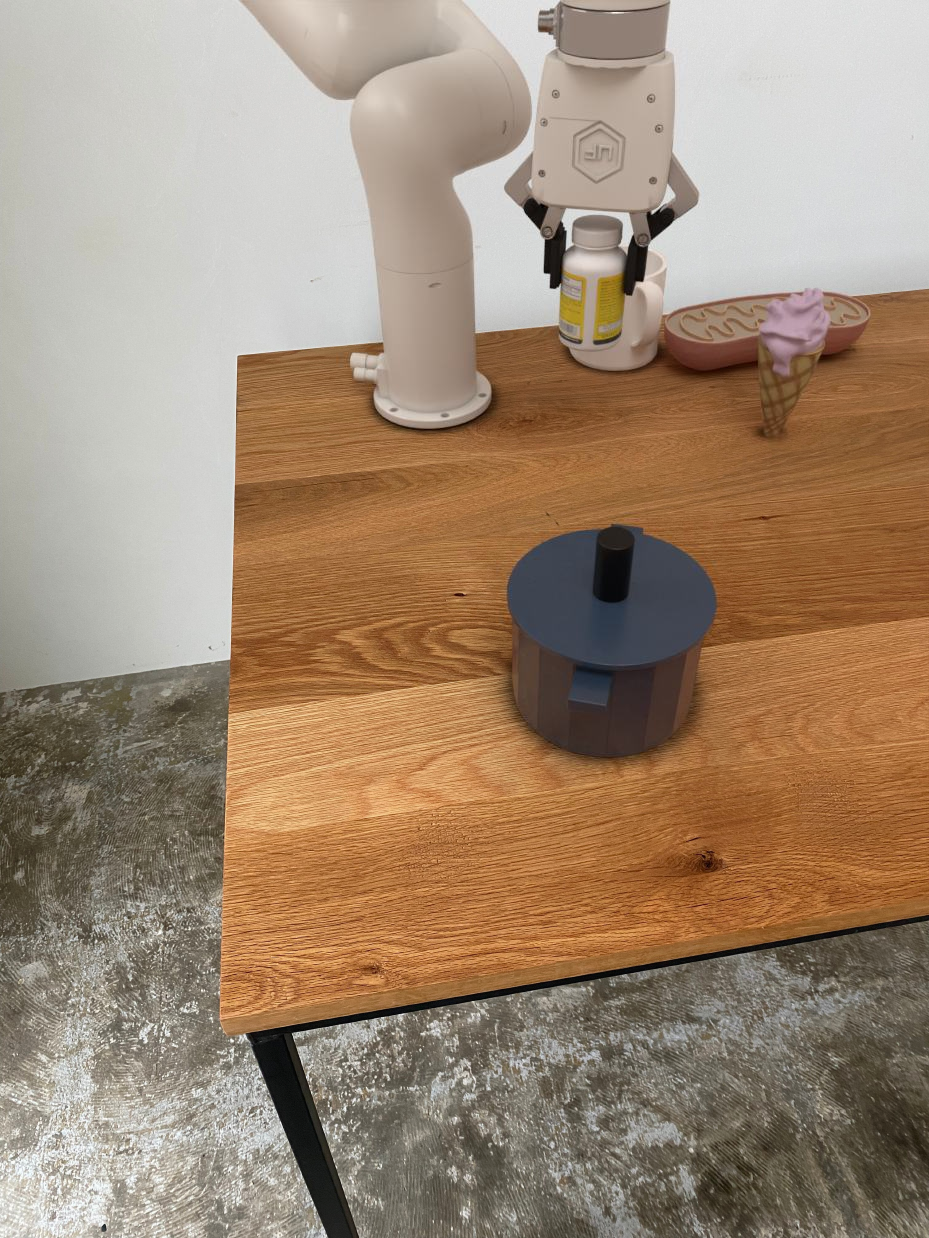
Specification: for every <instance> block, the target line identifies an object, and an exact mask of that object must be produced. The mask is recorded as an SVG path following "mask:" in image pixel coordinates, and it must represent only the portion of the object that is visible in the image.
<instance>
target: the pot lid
mask: <svg viewBox="0 0 929 1238" xmlns="http://www.w3.org/2000/svg"><path fill="white" fill-rule="evenodd" d="M717 600H718V599H717V594H716V589H715V587H714V584H713V582H712V579H711V578H710V576H709V575H708V573H707V572H706V570H705V569H704V567H702V565H701V564H700V563H698V561H696V559H694V558H693V557H692V556H691V555H689V554H688V553H687V552H685V551H684V550H682V549H680V548H679V547H677V546H675V545H674V544H672V543H669V542H667V541H665V540H663V539H661V538H657V537H655V536H652V535H649V534H645V533H643V534H641V533H638V532H632V531H629V530H627V529H625V528H622V527H611V526H608V527H604V528H591V529H582V530H576V531H571V532H567V533H564V534H560V535H557V536H555V537H552V538H549V539H547V540H544V541H543V542H541V543H539V544H537V545H536V546H534V547H532V548H531V549H530V550H529V551H527V552H526V553H525V554H524V555H523V556H522V557H521V558H519V560H518V561H517V563H516V564H515V566H514V567H513V568H512V571H511V573H510V575H509V577H508V581H507V584H506V603H507V610H508V612H509V614H510V617H511V620H512V619H513V621H514V622H515V624H516V626H517V627H518V628H519V630H520V631H521V632H522V633H523V635H524V636H526V637H527V638H528V639H529V640H530V641H531V642H532V643H533V644H535V645H536V646H538V647H539V648H540V649H542V650H543V651H545V652H547V653H549V654H551V655H552V656H555V657H557V658H559V659H562V660H564V661H567V662H570V663H573V664H576V665H579V666H584V667H589V668H593V669H602V670H619V671H624V670H638V669H644V668H650V667H654V666H658V665H661V664H665V663H667V662H670V661H672V660H675V659H677V658H679V657H681V656H682V655H684V654H686V653H688V652H689V651H690V650H692V649H693V648H694V647H696V646H697V645H698V644H699V643H700V642H701V641H702V640H703V641H704V640H705V638H706V636H707V635H708V634H709V632H710V631H711V628H712V627H713V623H714V621H715V617H716V612H717V607H718V605H717Z"/></svg>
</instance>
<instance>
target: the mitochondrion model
mask: <svg viewBox="0 0 929 1238" xmlns="http://www.w3.org/2000/svg"><path fill="white" fill-rule="evenodd" d="M821 291H822V293H823V295H824V297H823V300H822V301H823V305H824V310H825V311H826V312H827V313H828V314H829V315H830V319H831V322H830V325H829V327H828V330H827V333H826V336H825V338H824V341H825V346H824V348H823V351H822V353H821V355H820V356H828V355H833V354H837V353H839V352H842V351H844V350H846V349H847V348H849V347H851V346H852V345H853V344H854V343H856V341H858V340H859V339H860V337H861V336H862V335H863V334H864V332H865V330H866V329H867V326H868V325H869V322H870V318H871V316H872V315H871V314H872V313H871V309H870V308H869V307H868V305H867V304H866V303H864V302H862V301H861V300H859V299H858V298H856V297H853V296H850V295H847V294H843V293H839V292H834V291H823V290H821ZM803 293H804V291H795V292H794V291H793V292H792V291H791V292H790V291H789V292H776V293H763V294H751V295H745V296H737V297H731V298H723V299H718V300H713V301H709V302H708V301H707V302H702V303H698V304H694V305H693V304H692V305H689V306H688V305H687V306H684V307H680V308H678V309H674V310H672V312H670V313H669V314H668V315H667V316H666V317H665V319H664V325H663V326H664V327H663V330H664V331H663V334H664V335H663V336H664V341H665V345H666V347H667V349H668V350H669V352H670V354H671V355H672V356H673V358H675V359H676V360H677V362H679V363H680V364H681V365H683V366H685V367H687V368H689V369H692V370H696V371H712V370H717V369H720V368H726V367H730V366H735V365H740V364H745V363H751V362H758V337H759V334H760V332H759V326H760V324H762V322H765V321H766V320H767V318H768V316H769V312H768V311H767V310H766V307H765V306H766V305H767V304H769V303H770V302H771V301H772V300H774V299H779V300H781V301H785V300H787V299H790V295H791V294H797V295H800V296H802V295H803Z"/></svg>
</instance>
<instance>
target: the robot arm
mask: <svg viewBox="0 0 929 1238" xmlns="http://www.w3.org/2000/svg"><path fill="white" fill-rule="evenodd" d="M238 1H239V2H240V3H241V4H242V5H243V6H244V7H245V8H246V9H247V10H248V12H249V13H250V14H251V15H252V16H253V18H255V19H256V21H257V22H258V23H259V25H260V26H261V27H262V29H263V30H264V31H265V32H266V33H267V34H268V35H269V36H270V37H271V38H272V39H273V41H274V42H275V43H276V45H278V46H279V48H280V49H281V50H282V51H283V52H284V53H285V55H286V56H287V57H288V58H289V59H290V61H292V63H293V65H295V66H296V67H297V68H298V70H299V71H300V72H301V73H302V74H303V75H304V77H306V79H307V80H308V81H310V83H311V84H312V85H313V86H314V87H315V88H316V89H318V91H320V92H321V93H322V94H324V95H325V96H326V97H328V98H330V99H332V100H336V101H337V100H338V101H350V100H351V101H352V100H353V103H352V106H351V110H350V116H349V131H350V132H349V133H350V138H351V144H352V148H353V152H354V155H355V159H356V163H357V165H358V169H359V173H360V176H361V180H362V184H363V187H364V192H365V198H366V203H367V208H368V213H369V219H370V229H371V236H372V245H373V256H374V261H375V262H374V263H375V273H376V284H377V294H378V304H379V314H380V325H381V326H380V327H381V334H382V345H383V346H382V347H383V352H380V353H379V354H378V355H374V354H370V353H364V352H363V353H361V352H352V353H351V355H350V358H349V366H350V370H351V371H352V372H353V373H352V374H353V380H354V381H355V382H356V381H357V382H373V383H374V385H375V387H374V390H373V403H374V407H375V410H376V411H377V412H378V413H379V415H381V416H382V417H383V418H385V419H386V420H388V421H389V422H391V423H394V424H396V425H399V426H403V427H406V428H411V429H413V428H414V429H419V430H420V429H421V430H424V429H425V430H434V429H445V428H449V427H456V426H458V425H462V424H465V423H467V422H470V421H471V420H474V419H476V418H477V417H478V416H480V415H482V414H483V413H484V412H485V411H486V410H487V409H488V408H489V406H490V404H491V401H492V396H493V395H492V385H491V383H490V381H489V380H488V379H487V377H486V376H485V375H484V374H482V373H481V372H479V371H478V370H477V339H476V335H477V333H476V300H475V299H476V298H475V295H476V294H475V260H474V259H475V258H474V236H473V228H472V222H471V219H470V217H469V214H468V212H467V210H466V208H465V206H464V205H463V203H462V201H461V199H460V198H459V196H458V193H457V192H456V190H455V187H454V179H455V177H457V176H459V175H462V174H464V173H466V172H468V171H470V170H473V169H476V168H479V167H482V166H484V165H487V164H490V163H492V162H496V161H498V160H500V159H502V158H504V157H507V155H509V154H511V153H512V152H513V151H515V150H516V149H517V148H518V147H520V145H521V144H522V143H523V142H524V140H525V139H526V137H527V135H528V132H529V130H530V126H531V123H532V117H533V104H532V103H533V101H532V96H531V92H530V87H529V85H528V81H527V80H526V76H525V75H524V73H523V71H522V69H521V67H520V66H519V64H518V63H517V61H516V60H515V58H514V56H513V55H512V54H511V53H510V52H509V50H508V49H507V48H506V47H505V46H504V45H503V44H502V42H501V41H500V40H499V39H498V38H497V37H496V36H495V35H494V33H492V31H491V30H490V29H489V28H488V27H487V26H486V24H484V22H483V21H482V20H481V19H480V18H479V17H478V16H477V15H476V14H475V13H474V11H473V10H472V9H471V8H470V7H469V6H468V5H467V4H466V3H465V2H464V0H238ZM670 9H671V0H559V2H558V3H557V5H556V6H555V7H554V8H550V9H547V10H544V9H540V10H539V11H538V17H537V31H538V33H541V34H542V33H545V34H548V36H553V40H555V48H554V49H552V50H551V51H550V52H548V53H547V54H546V55H545V59H544V63H543V68H542V73H541V78H540V84H539V91H538V98H537V106H536V116H535V124H534V135H533V148H532V149H533V150H532V151H531V152H530V154H529V155H528V156H526V158H525V159H524V160H523V161H522V163H520V165H519V166H518V167H517V168H516V169H515V170H514V172H513V173H512V174H511V175H510V177H509V178H508V179H507V180H506V182H505V184H504V186H503V187H504V188H503V190H504V192H505V193H506V195H508V196H509V198H510V199H512V200H513V202H514V203H515V204H516V205H517V206H518V207H520V208H521V209H522V210H523V212H524V214H525V215H526V216H527V218H528V219H529V220H530V221H531V222H532V223H533V224H534V226H535V227H536V228H537V229H538V231H539V234H540V236H541V238H542V239H543V240H544V242H543V243H544V245H543V246H544V248H543V250H544V251H543V274H545V275H549V289H551V290H557V289H558V288H560V287H561V267H562V258H563V255H564V253H565V251H566V250H567V238H568V236H567V235H568V234H567V233H568V231H567V229H566V226H564V222H563V221H562V220H563V218H564V215H565V212H566V210H568V209H569V210H570V209H571V210H584V211H595V212H596V211H597V212H612V213H624V214H625V213H627V214H628V215H629V219H630V223H631V229H632V233H633V234H632V235H631V238H630V241H629V244H628V245H629V246H628V252H627V262H626V272H625V282H624V294H626V296H632V295H633V291H634V288H635V285H636V282H643V281H644V277H645V271H646V262H647V254H648V248H649V245H650V244H651V242H652V241H653V240H654V239H655V238H657V237H659V235H660V234H661V233H663V232H664V231H665V230H666V229H668V228H669V227H670V226H671V225H672V224H673V223H674V222H675V221H676V220H677V219H679V218H681V217H683V216H684V215H685V214H686V213H688V212H690V211H691V210H692V209H693V208H695V207H696V206H697V205H698V204H699V201H700V191H699V189H698V188H697V186H696V185H695V183H694V182H693V181H692V179H691V177H690V176H689V174H688V173H687V172H686V170H685V169H684V167H683V166H682V164H681V163H680V161H679V160H678V158H677V157H676V156H675V154H674V152H673V148H674V147H673V146H674V134H675V116H676V71H675V58H674V53H672V52H671V51H669V50H666V46H667V36H668V28H669V19H670V11H671V10H670ZM530 181H531V182H530ZM529 182H530V183H531V187H530V184H529ZM668 186H669V188H670V189H671V190H672V192H673V193H674V195H675V196H674V197H673V198H671V199H670V201H668V202H667V203H664V204H663V205H661V204H662V203H663V201H664V198H665V197H666V193H667V188H668ZM654 210H656V211H655V212H654V213H653V211H654Z"/></svg>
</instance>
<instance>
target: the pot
mask: <svg viewBox="0 0 929 1238" xmlns="http://www.w3.org/2000/svg"><path fill="white" fill-rule="evenodd" d="M610 527H622V528H625V529H627V530H629V531H632V532H638V533H641V534H644V527H641V526H634V525H627V524H626V525H625V524H619V523H610ZM511 620H512V624H511V625H512V627H511V629H512V630H511V635H512V636H511V638H512V639H511V640H512V641H511V646H512V647H511V658H512V659H511V683H512V688H513V696H514V701H515V705H516V706H517V709H518V711H519V712H520V715H521V717H522V719H524V721H525V722H526V724H527V726H529V727H530V728H531V729H532V730H533V731H534V732H535V733H536V734H538V735H539V736H540V737H542V738H543V739H544V740H546V741H547V742H549V743H551V744H553V745H555V746H556V747H558V748H560V749H562V750H565V751H568V752H571V753H574V754H578V755H583V756H587V757H595V758H622V757H628V756H635V755H638V754H642V753H644V752H645V753H646V752H647V751H650V750H652V749H655V748H656V747H658V746H660V745H662V744H663V743H665V742H667V741H668V740H669V739H671V738H672V737H673V736H674V735H675V734H676V733H677V731H678V730H679V729H680V728H681V727H682V725H683V723H684V722H685V720H686V718H687V715H688V714H689V712H690V708H691V704H692V699H693V694H694V689H695V683H696V679H697V673H698V669H699V664H700V659H701V653H702V648H703V642H704V639H703V640H702V641H701V642H700V643H699V644H698V645H697V646H696V647H694V648H693V649H692V650H690V651H689V652H688V653H686V654H684V655H682V656H681V657H679V658H677V659H675V660H672V661H670V662H667V663H665V664H661V665H658V666H654V667H650V668H644V669H638V670H624V671H619V670H602V669H593V668H589V667H584V666H579V665H576V664H573V663H570V662H567V661H564V660H562V659H559V658H557V657H555V656H552V655H551V654H549V653H547V652H545V651H543V650H542V649H540V648H539V647H538V646H536V645H535V644H533V643H532V642H531V641H530V640H529V639H528V638H527V637H526V636H524V635H523V633H522V632H521V631H520V630H519V628H518V627H517V626H516V624H515V622H514V621H513V619H512V618H511Z"/></svg>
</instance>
